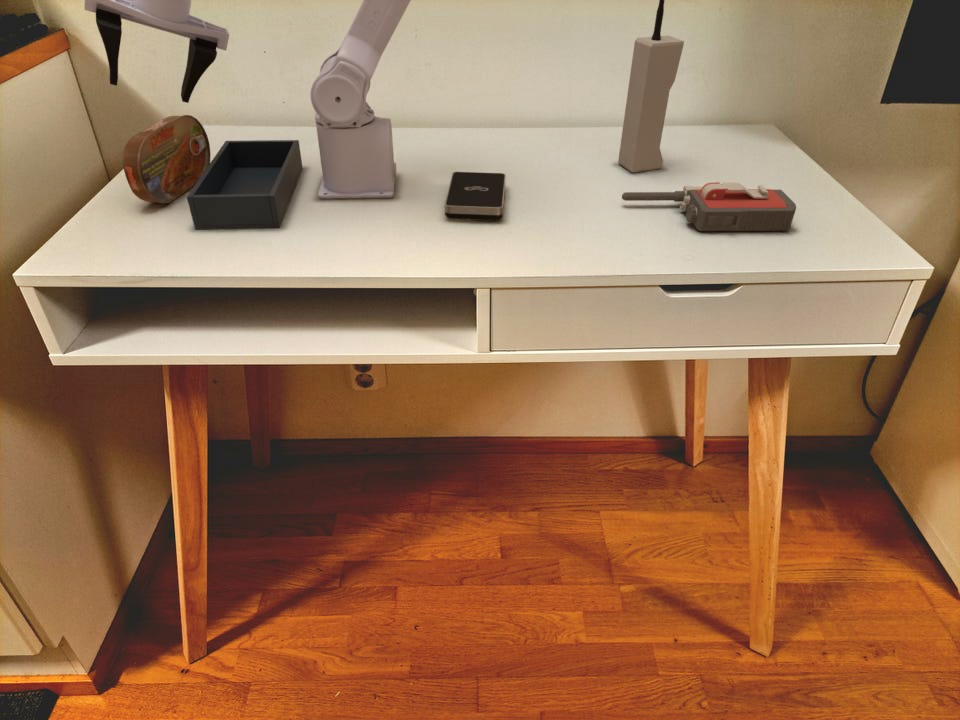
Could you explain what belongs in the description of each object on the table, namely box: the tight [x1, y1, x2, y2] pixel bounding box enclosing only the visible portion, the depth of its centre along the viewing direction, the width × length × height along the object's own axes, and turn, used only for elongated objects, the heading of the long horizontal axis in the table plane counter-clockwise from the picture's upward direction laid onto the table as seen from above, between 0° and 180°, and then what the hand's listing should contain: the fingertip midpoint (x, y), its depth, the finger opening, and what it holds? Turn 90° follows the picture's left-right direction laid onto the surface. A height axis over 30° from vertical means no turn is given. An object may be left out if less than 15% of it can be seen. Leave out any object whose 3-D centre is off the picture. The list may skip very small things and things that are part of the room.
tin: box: [121, 114, 211, 205], centre depth 86 cm, size 15×3×8 cm, turn 168°
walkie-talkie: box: [621, 182, 797, 232], centre depth 82 cm, size 9×4×20 cm
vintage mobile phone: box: [617, 0, 685, 174], centre depth 89 cm, size 4×5×25 cm
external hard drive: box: [444, 171, 506, 221], centre depth 85 cm, size 7×11×2 cm, turn 176°
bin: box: [186, 139, 304, 230], centre depth 85 cm, size 10×19×4 cm, turn 4°
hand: (149, 90), depth 81 cm, fingers open, 7 cm apart
